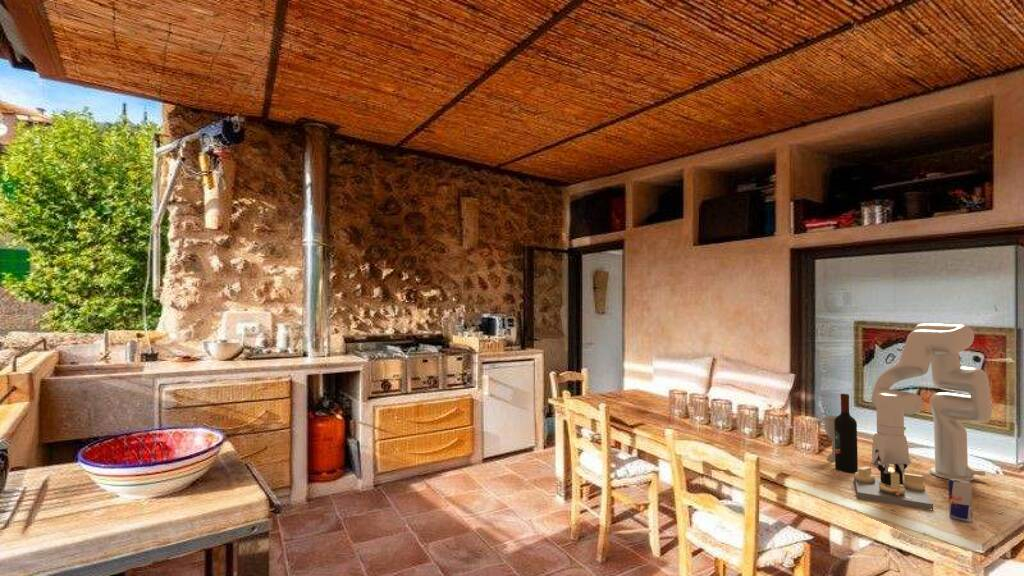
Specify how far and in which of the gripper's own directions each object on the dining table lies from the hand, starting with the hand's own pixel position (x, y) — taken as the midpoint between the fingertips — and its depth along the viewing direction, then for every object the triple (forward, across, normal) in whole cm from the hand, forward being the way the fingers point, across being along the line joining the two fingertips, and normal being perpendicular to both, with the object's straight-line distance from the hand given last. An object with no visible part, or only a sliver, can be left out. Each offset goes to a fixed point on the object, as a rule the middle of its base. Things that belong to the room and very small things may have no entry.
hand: (891, 483), depth 171 cm
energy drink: (+5, -7, +18) cm, 20 cm away
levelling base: (+5, -2, -3) cm, 6 cm away
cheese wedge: (+3, 0, +1) cm, 3 cm away
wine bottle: (+5, -6, -28) cm, 29 cm away
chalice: (+5, -10, -40) cm, 42 cm away
